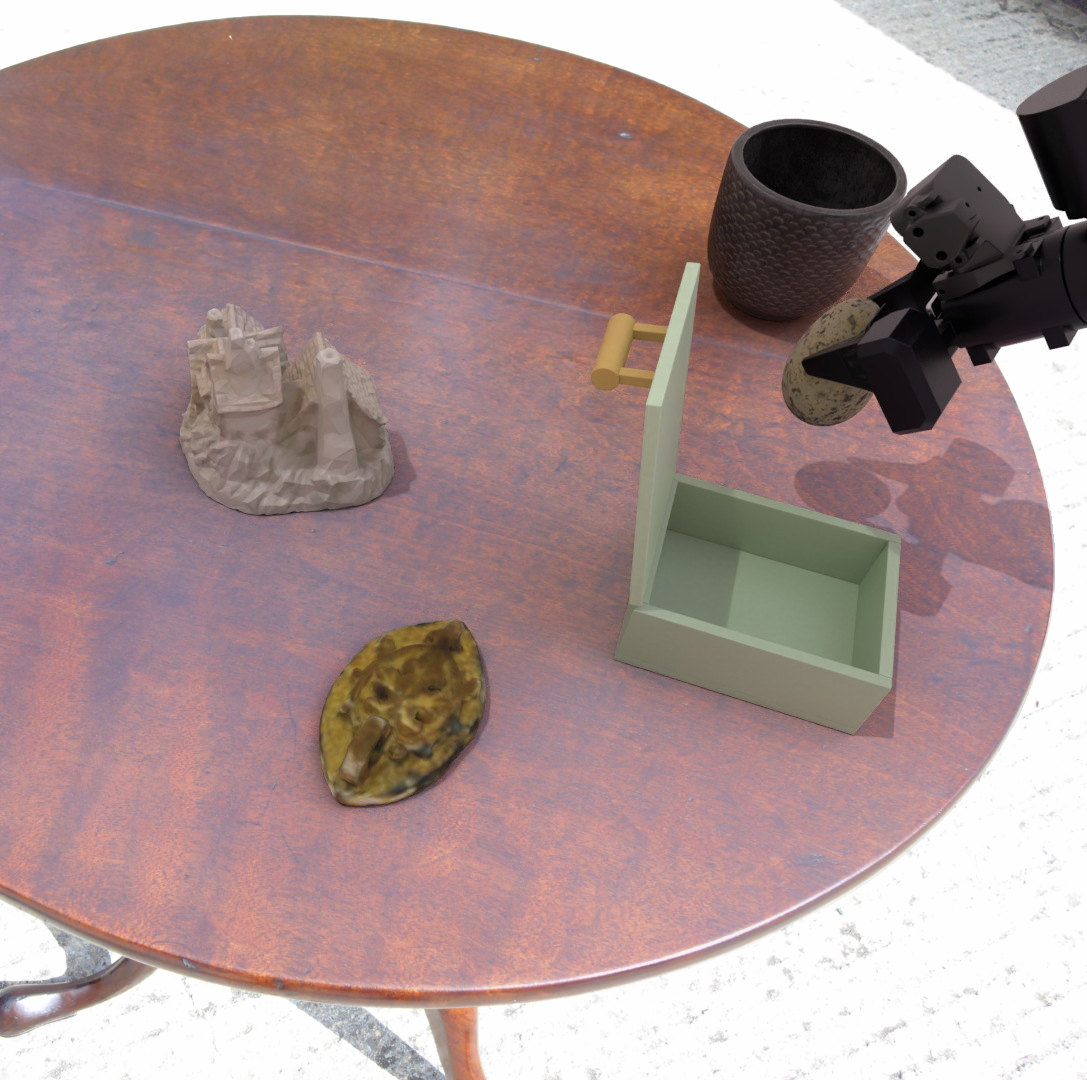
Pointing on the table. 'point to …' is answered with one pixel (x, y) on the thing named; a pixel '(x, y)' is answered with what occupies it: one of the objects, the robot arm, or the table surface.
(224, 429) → the ceramic cottage
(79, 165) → the table surface
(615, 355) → the chest lid
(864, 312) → the decorative egg
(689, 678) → the chest
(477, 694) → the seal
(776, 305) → the planter
